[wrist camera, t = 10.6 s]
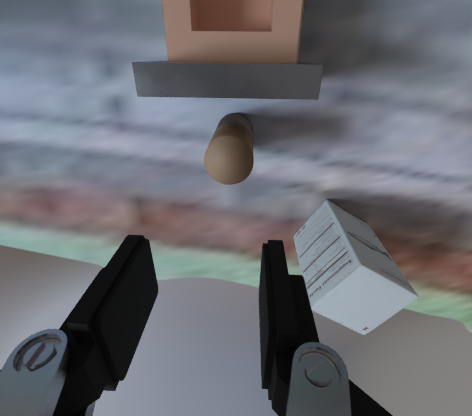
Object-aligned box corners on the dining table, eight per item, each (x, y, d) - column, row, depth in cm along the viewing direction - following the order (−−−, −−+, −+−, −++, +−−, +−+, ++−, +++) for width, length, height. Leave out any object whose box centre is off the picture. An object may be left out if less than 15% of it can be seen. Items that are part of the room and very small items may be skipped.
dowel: (218, 148, 31) (205, 183, 22) (217, 112, 29) (202, 136, 20) (251, 149, 31) (252, 185, 22) (253, 113, 29) (254, 137, 20)
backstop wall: (178, 82, 28) (137, 96, 18) (176, 60, 27) (132, 62, 17) (293, 83, 27) (318, 99, 17) (295, 61, 26) (323, 64, 16)
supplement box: (369, 222, 35) (423, 298, 24) (331, 258, 38) (363, 338, 27) (326, 196, 33) (363, 264, 22) (290, 235, 37) (307, 311, 26)
